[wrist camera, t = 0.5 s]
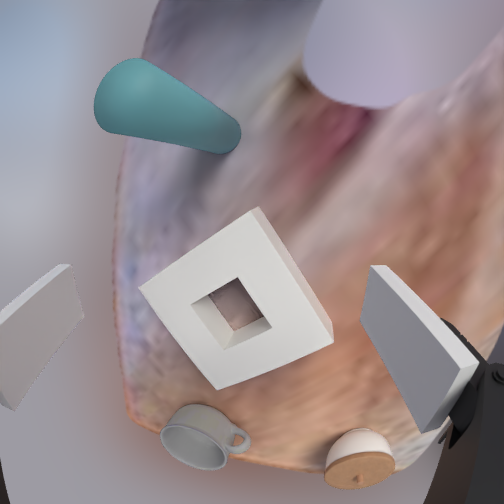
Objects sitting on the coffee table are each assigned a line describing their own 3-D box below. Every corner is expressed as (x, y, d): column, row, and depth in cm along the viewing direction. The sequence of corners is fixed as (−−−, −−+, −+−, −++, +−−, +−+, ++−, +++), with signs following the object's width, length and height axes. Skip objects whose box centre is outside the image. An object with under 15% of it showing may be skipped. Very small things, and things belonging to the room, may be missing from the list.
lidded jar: (349, 462, 38) (350, 502, 30) (312, 439, 38) (308, 484, 29) (400, 434, 35) (408, 477, 26) (366, 409, 35) (372, 457, 26)
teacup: (186, 432, 43) (170, 463, 36) (170, 390, 41) (148, 422, 33) (262, 441, 40) (253, 477, 33) (255, 398, 38) (243, 438, 30)
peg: (226, 107, 29) (137, 44, 12) (249, 138, 29) (172, 94, 12) (194, 131, 30) (84, 97, 13) (215, 161, 30) (112, 150, 13)
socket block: (258, 206, 31) (250, 210, 27) (331, 322, 32) (333, 342, 28) (156, 275, 36) (138, 287, 31) (226, 370, 37) (216, 390, 33)
